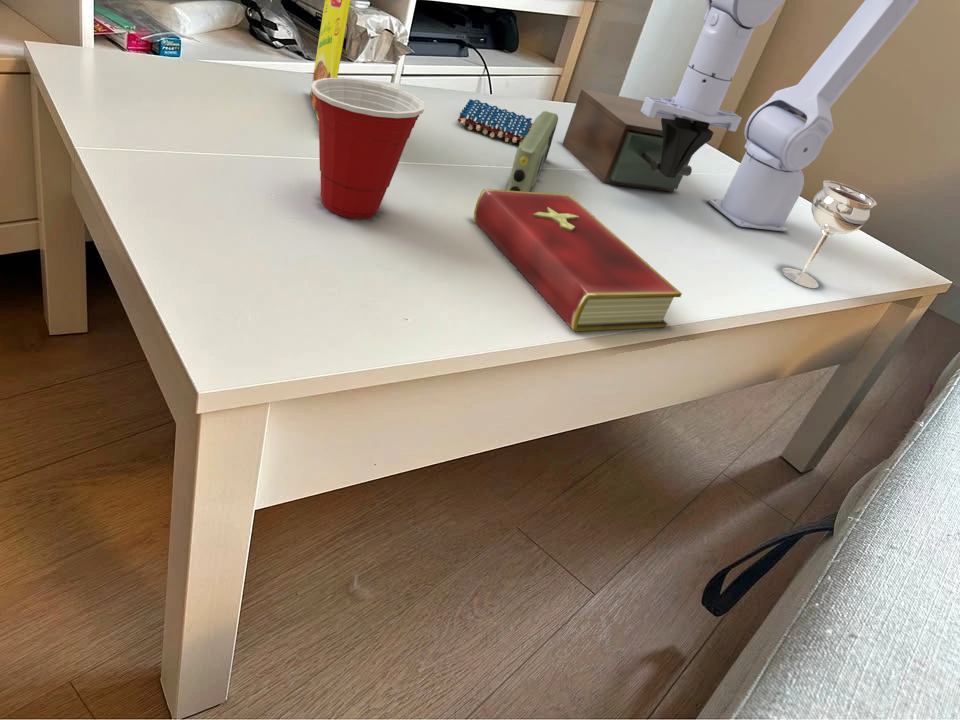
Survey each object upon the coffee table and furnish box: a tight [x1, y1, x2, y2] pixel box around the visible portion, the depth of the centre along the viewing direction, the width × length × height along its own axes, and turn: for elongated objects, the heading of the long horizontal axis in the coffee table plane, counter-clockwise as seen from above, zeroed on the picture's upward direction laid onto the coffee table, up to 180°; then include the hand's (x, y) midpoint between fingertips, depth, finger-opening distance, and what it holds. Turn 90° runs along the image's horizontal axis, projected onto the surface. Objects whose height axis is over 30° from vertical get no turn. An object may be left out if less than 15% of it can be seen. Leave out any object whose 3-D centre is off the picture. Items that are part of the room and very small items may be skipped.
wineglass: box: [781, 180, 878, 289], centre depth 95 cm, size 7×7×12 cm
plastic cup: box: [310, 77, 426, 220], centre depth 75 cm, size 11×11×12 cm
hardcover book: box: [473, 188, 683, 332], centre depth 79 cm, size 12×21×4 cm, turn 27°
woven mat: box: [457, 98, 533, 146], centre depth 114 cm, size 10×11×2 cm
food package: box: [309, 0, 352, 123], centre depth 92 cm, size 15×1×20 cm, turn 17°
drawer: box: [610, 130, 693, 190], centre depth 110 cm, size 17×11×7 cm
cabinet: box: [561, 88, 675, 193], centre depth 113 cm, size 14×13×9 cm
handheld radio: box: [506, 110, 559, 192], centre depth 96 cm, size 7×3×25 cm
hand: (667, 174), depth 102 cm, fingers closed, pressing on drawer
